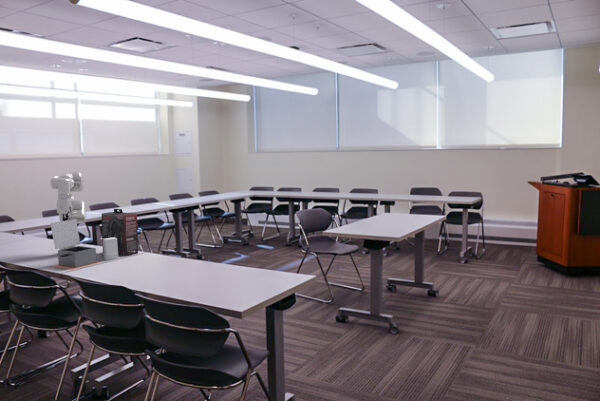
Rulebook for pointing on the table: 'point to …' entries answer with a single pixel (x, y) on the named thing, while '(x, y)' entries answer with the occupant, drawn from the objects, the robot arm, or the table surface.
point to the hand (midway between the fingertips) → (65, 223)
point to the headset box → (121, 230)
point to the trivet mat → (74, 268)
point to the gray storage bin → (77, 256)
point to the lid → (65, 233)
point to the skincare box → (110, 248)
